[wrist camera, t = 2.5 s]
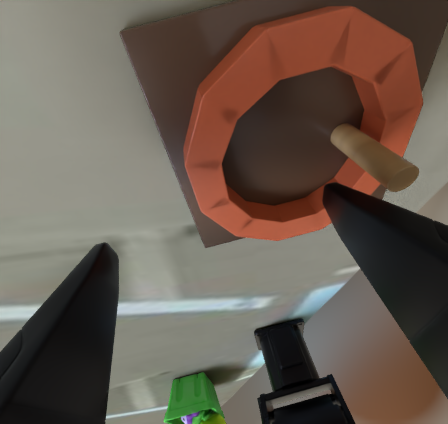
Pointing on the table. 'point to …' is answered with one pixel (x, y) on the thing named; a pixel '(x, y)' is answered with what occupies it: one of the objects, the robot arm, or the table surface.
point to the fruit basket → (193, 402)
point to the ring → (288, 67)
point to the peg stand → (274, 101)
